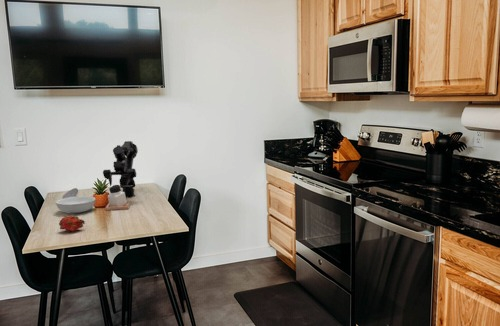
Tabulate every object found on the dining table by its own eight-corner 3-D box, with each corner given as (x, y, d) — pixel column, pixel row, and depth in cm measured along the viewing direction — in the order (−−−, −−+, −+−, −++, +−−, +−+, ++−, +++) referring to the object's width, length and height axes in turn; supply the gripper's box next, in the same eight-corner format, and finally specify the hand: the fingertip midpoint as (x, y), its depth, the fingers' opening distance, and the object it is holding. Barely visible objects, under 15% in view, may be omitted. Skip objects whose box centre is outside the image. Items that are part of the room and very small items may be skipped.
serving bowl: (80, 217, 231) (79, 205, 230) (48, 215, 237) (47, 203, 236) (103, 207, 251) (102, 196, 250) (74, 206, 257) (73, 195, 256)
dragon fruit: (58, 234, 207) (84, 236, 209) (55, 229, 199) (82, 230, 202) (61, 218, 211) (87, 219, 213) (58, 211, 203) (85, 213, 206)
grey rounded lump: (79, 209, 267) (79, 197, 262) (61, 209, 264) (61, 197, 258) (79, 198, 276) (80, 185, 271) (62, 198, 272) (62, 185, 267)
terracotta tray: (105, 210, 243) (105, 207, 243) (109, 205, 255) (109, 202, 255) (128, 209, 245) (127, 206, 245) (130, 204, 257) (130, 201, 257)
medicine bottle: (127, 203, 252) (123, 184, 248) (118, 208, 246) (114, 188, 242) (118, 202, 255) (114, 183, 251) (109, 206, 249) (105, 187, 246)
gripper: (102, 156, 254) (99, 178, 245) (134, 155, 256) (132, 176, 247) (106, 167, 263) (103, 188, 254) (137, 166, 265) (135, 187, 256)
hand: (118, 185), depth 252 cm, fingers open, 9 cm apart
